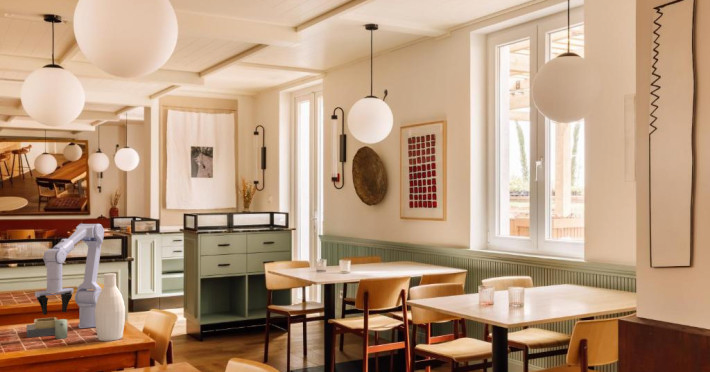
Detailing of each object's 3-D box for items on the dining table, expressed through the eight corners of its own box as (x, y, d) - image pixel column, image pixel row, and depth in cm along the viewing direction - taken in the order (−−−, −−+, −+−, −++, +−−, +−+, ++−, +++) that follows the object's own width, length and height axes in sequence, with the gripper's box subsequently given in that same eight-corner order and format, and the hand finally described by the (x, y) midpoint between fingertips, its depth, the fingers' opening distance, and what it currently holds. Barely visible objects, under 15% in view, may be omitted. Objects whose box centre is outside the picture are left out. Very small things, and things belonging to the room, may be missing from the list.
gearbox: (63, 329, 287) (63, 315, 287) (65, 334, 276) (65, 320, 276) (26, 332, 281) (26, 318, 281) (27, 337, 270) (27, 323, 270)
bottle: (107, 342, 259) (107, 276, 260) (89, 339, 265) (88, 274, 266) (131, 337, 269) (131, 273, 269) (113, 334, 275) (112, 271, 275)
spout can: (66, 336, 272) (66, 318, 272) (68, 339, 267) (68, 321, 267) (54, 337, 270) (54, 319, 270) (55, 340, 265) (55, 322, 265)
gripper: (68, 276, 279) (68, 309, 279) (31, 279, 268) (31, 314, 268) (75, 277, 274) (75, 311, 274) (39, 281, 263) (39, 316, 263)
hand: (54, 313), depth 271 cm, fingers open, 7 cm apart
